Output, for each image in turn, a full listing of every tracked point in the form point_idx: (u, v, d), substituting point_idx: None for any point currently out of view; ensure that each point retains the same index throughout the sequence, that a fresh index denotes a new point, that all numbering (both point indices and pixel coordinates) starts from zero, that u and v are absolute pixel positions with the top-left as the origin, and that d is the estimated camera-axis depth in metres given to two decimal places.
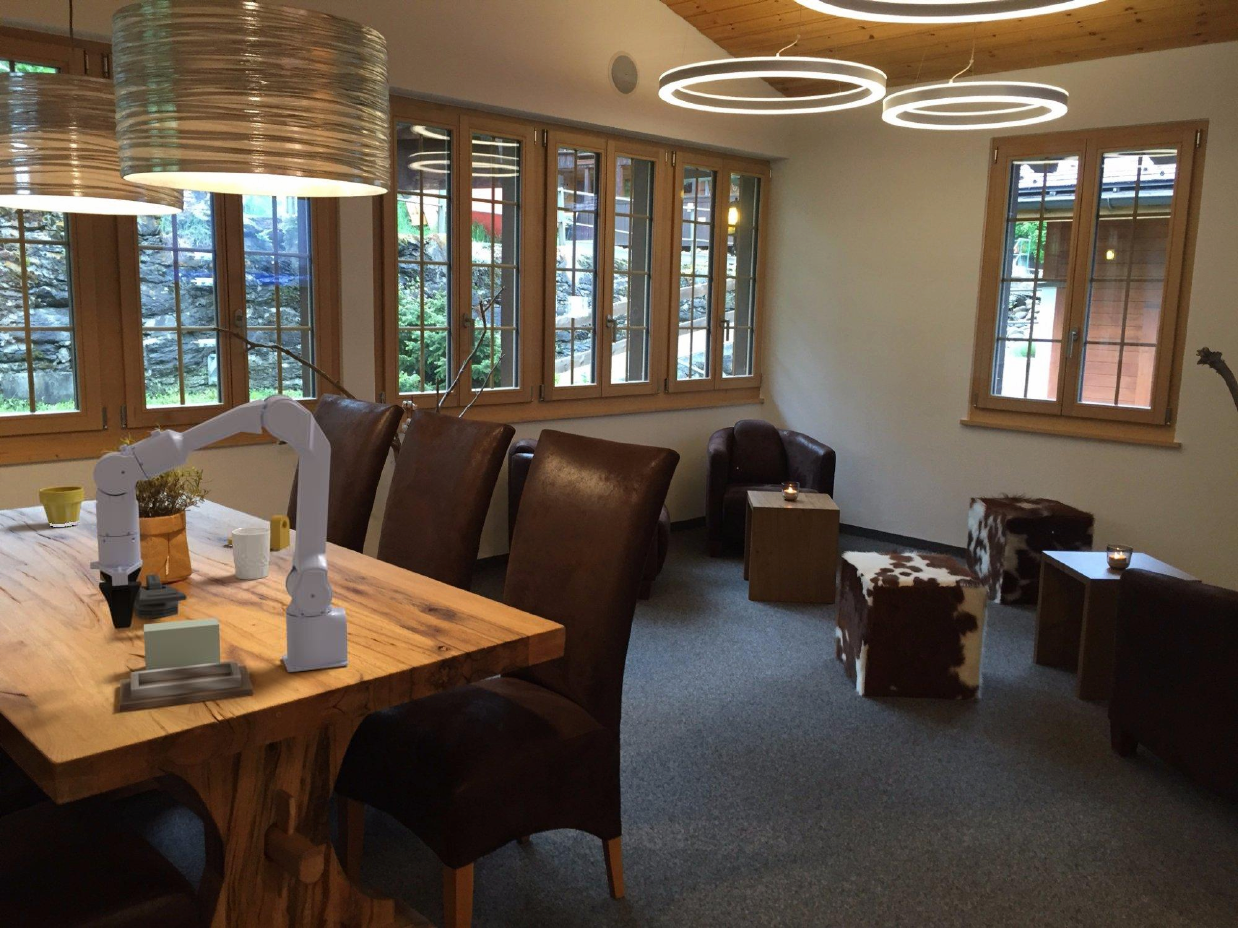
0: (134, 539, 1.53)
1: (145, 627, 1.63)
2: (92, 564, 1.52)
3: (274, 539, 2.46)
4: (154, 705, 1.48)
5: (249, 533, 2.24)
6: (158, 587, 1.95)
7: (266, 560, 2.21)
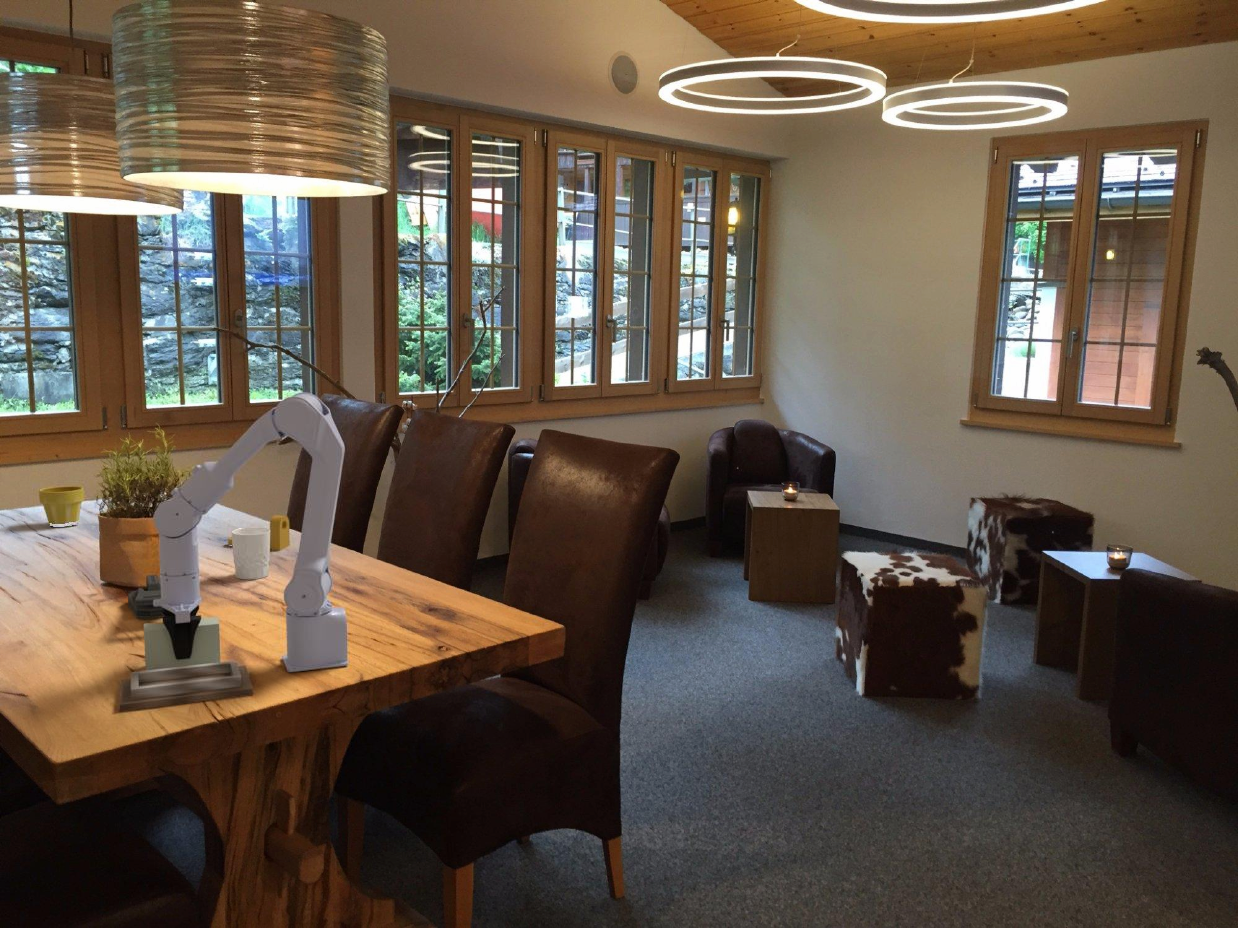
0: (194, 578, 1.63)
1: (145, 626, 1.63)
2: (155, 602, 1.62)
3: (274, 539, 2.46)
4: (154, 705, 1.48)
5: (249, 533, 2.24)
6: (157, 588, 1.94)
7: (266, 560, 2.21)
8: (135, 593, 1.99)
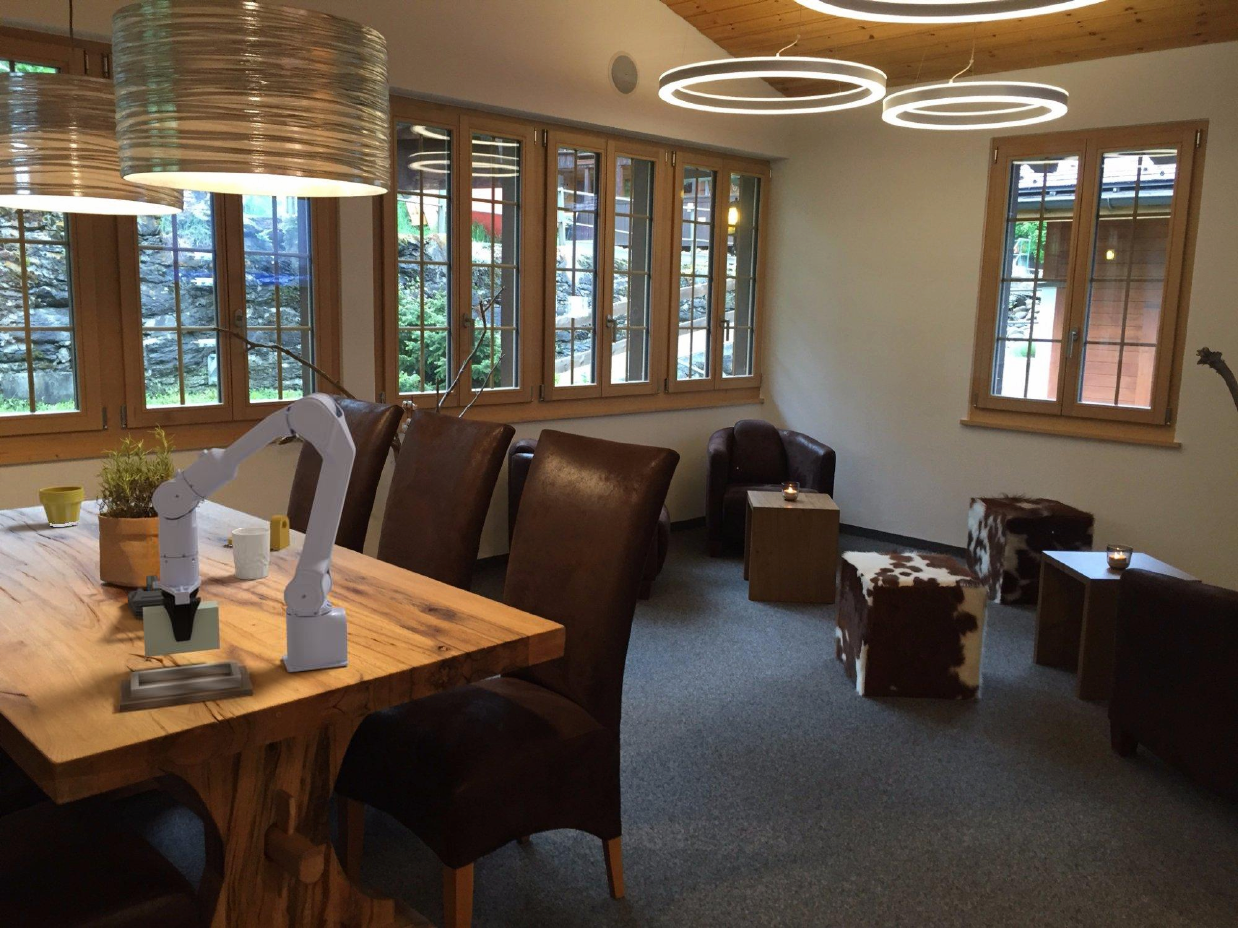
0: (194, 560, 1.62)
1: (144, 609, 1.62)
2: (155, 583, 1.61)
3: (274, 539, 2.46)
4: (154, 705, 1.48)
5: (249, 533, 2.24)
6: (156, 588, 1.94)
7: (266, 560, 2.21)
8: (135, 593, 1.99)
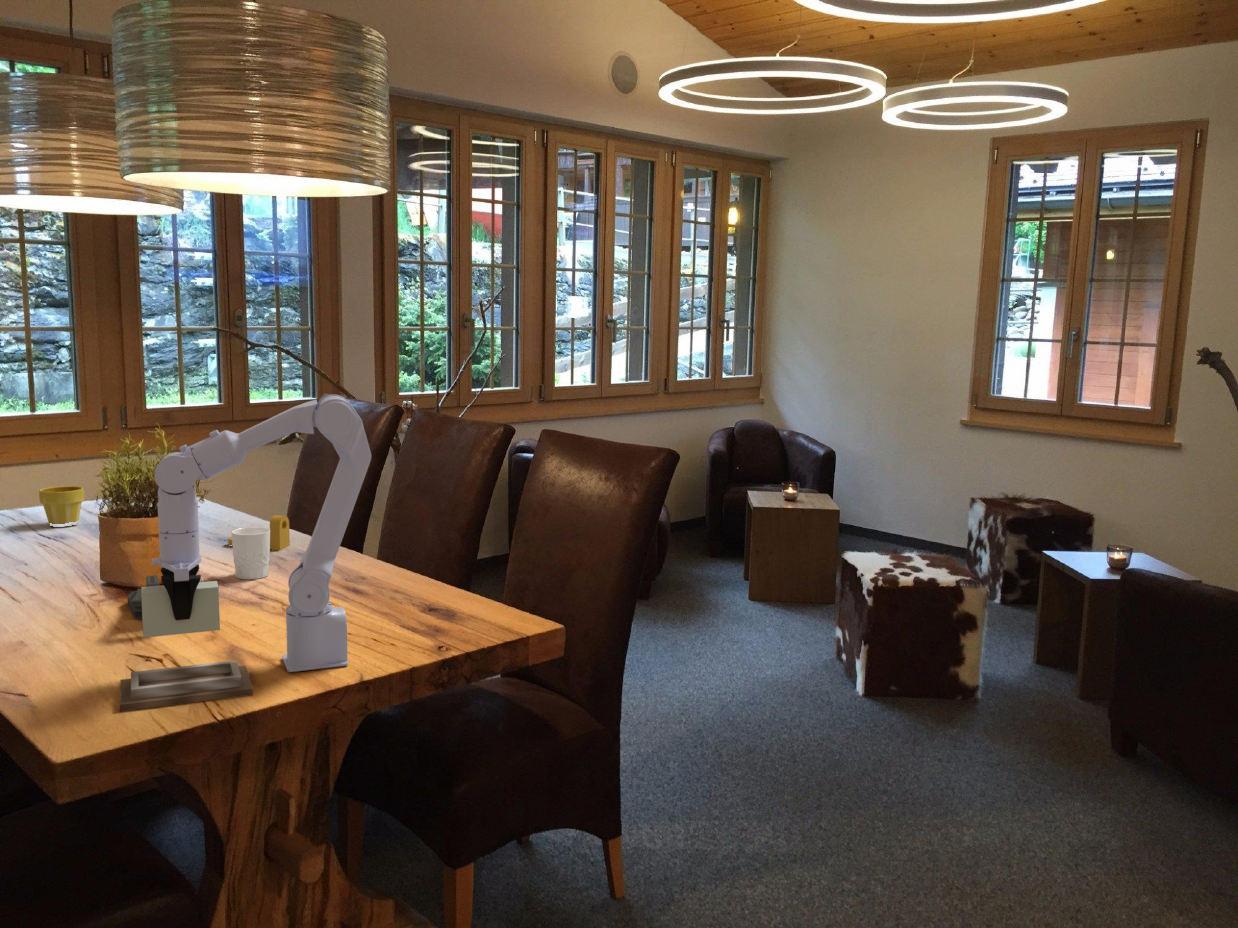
0: (194, 536, 1.58)
1: (142, 589, 1.58)
2: (154, 560, 1.58)
3: (274, 539, 2.46)
4: (154, 705, 1.48)
5: (249, 533, 2.24)
6: None
7: (266, 560, 2.21)
8: (135, 593, 1.98)
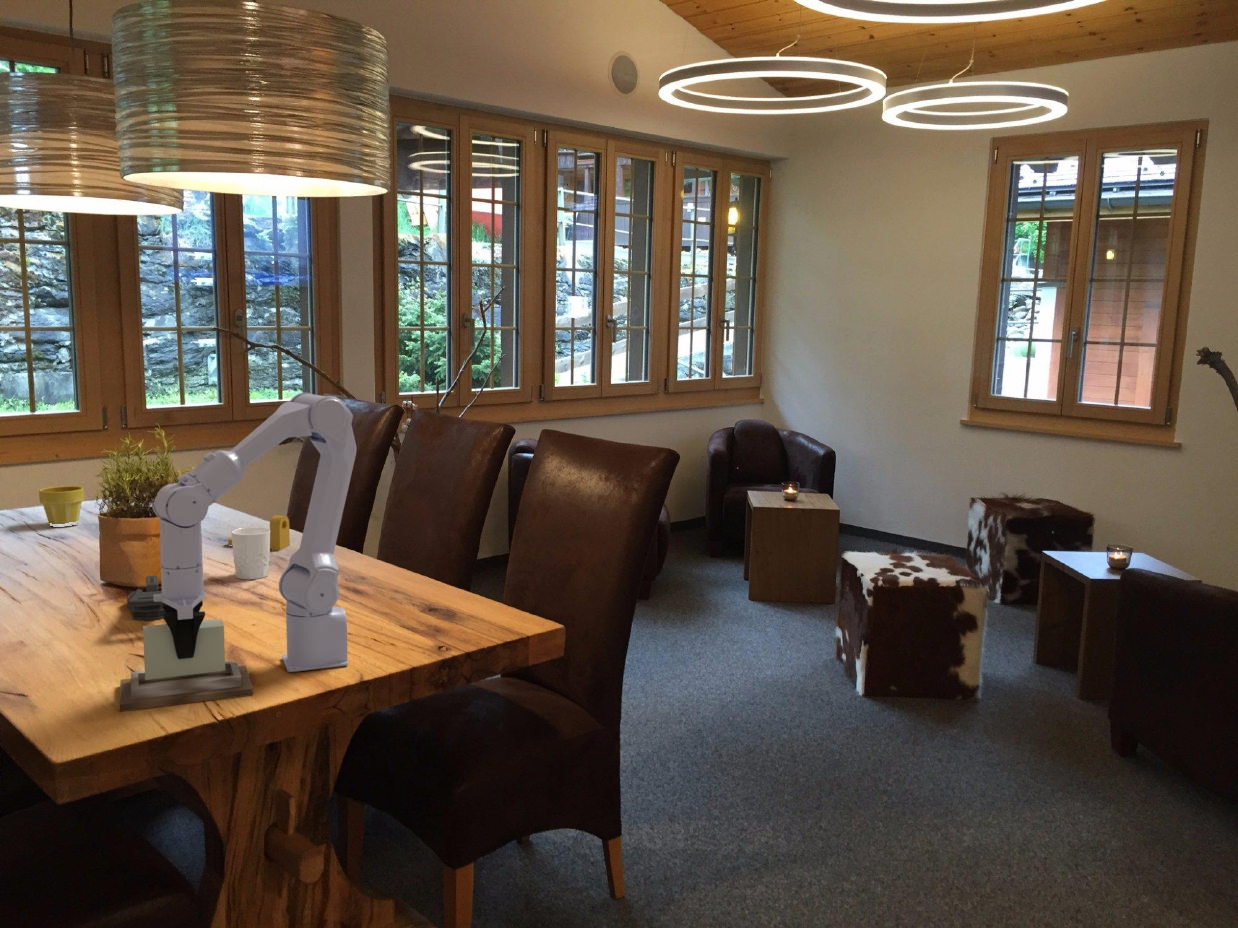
0: (198, 571, 1.51)
1: (144, 629, 1.51)
2: (155, 596, 1.51)
3: (274, 539, 2.46)
4: (154, 705, 1.48)
5: (249, 533, 2.24)
6: (155, 589, 1.94)
7: (266, 560, 2.21)
8: (134, 594, 1.98)
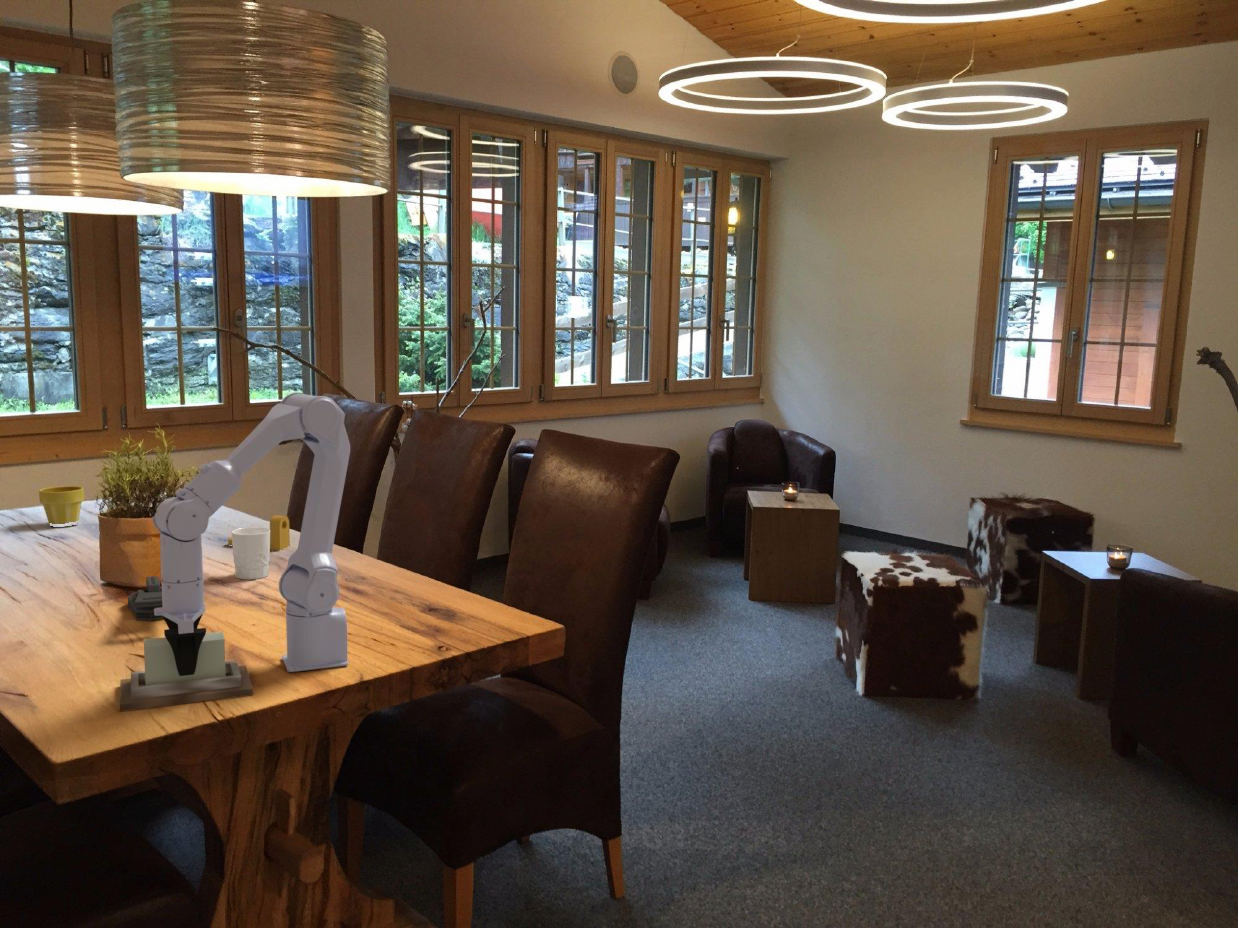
0: (198, 585, 1.52)
1: (145, 642, 1.52)
2: (156, 610, 1.51)
3: (274, 539, 2.46)
4: (154, 705, 1.48)
5: (249, 533, 2.24)
6: (157, 589, 1.93)
7: (266, 560, 2.21)
8: (135, 595, 1.98)
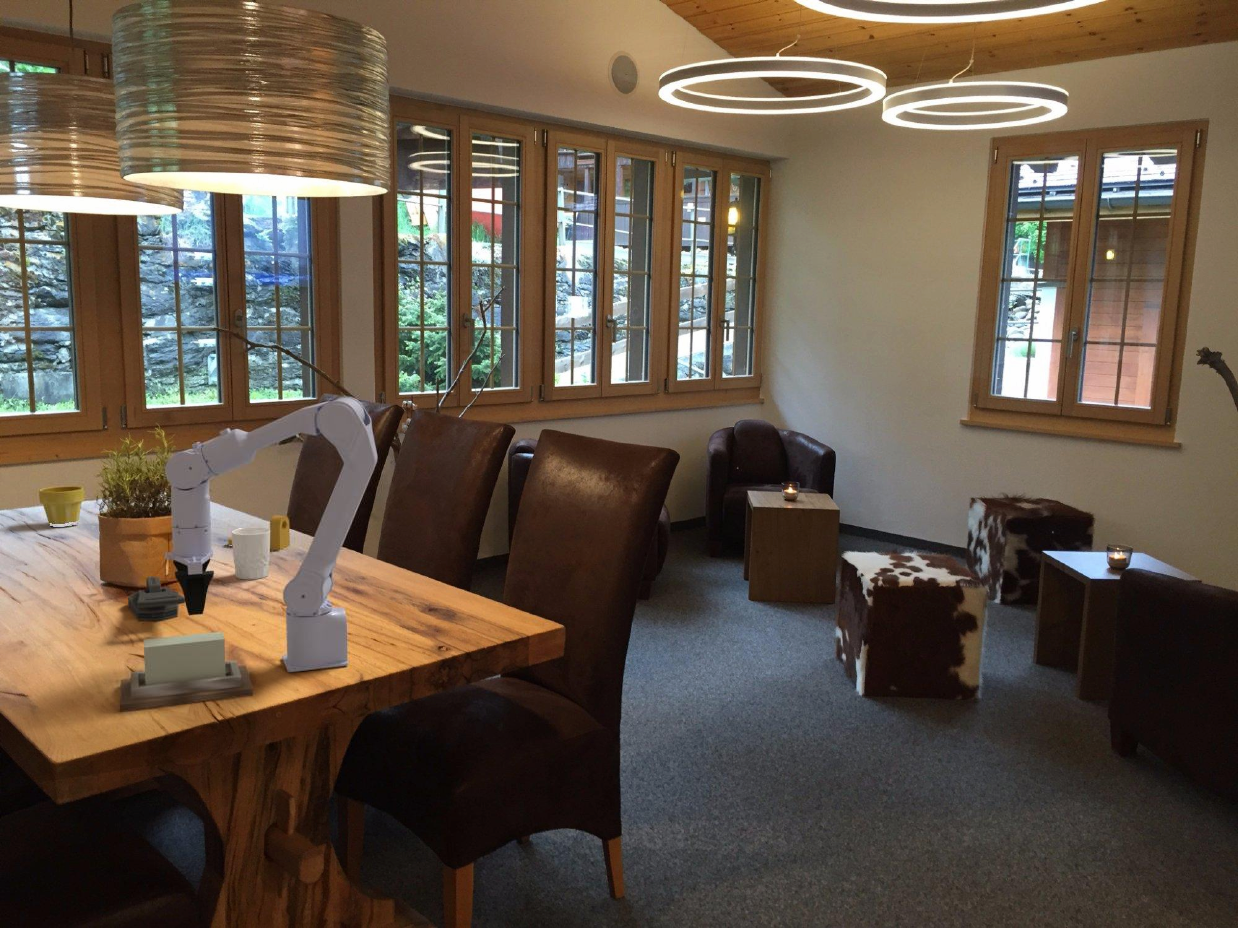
0: (206, 531, 1.62)
1: (145, 642, 1.52)
2: (167, 554, 1.62)
3: (274, 539, 2.46)
4: (154, 705, 1.48)
5: (249, 533, 2.24)
6: (158, 590, 1.93)
7: (266, 560, 2.21)
8: (135, 595, 1.97)
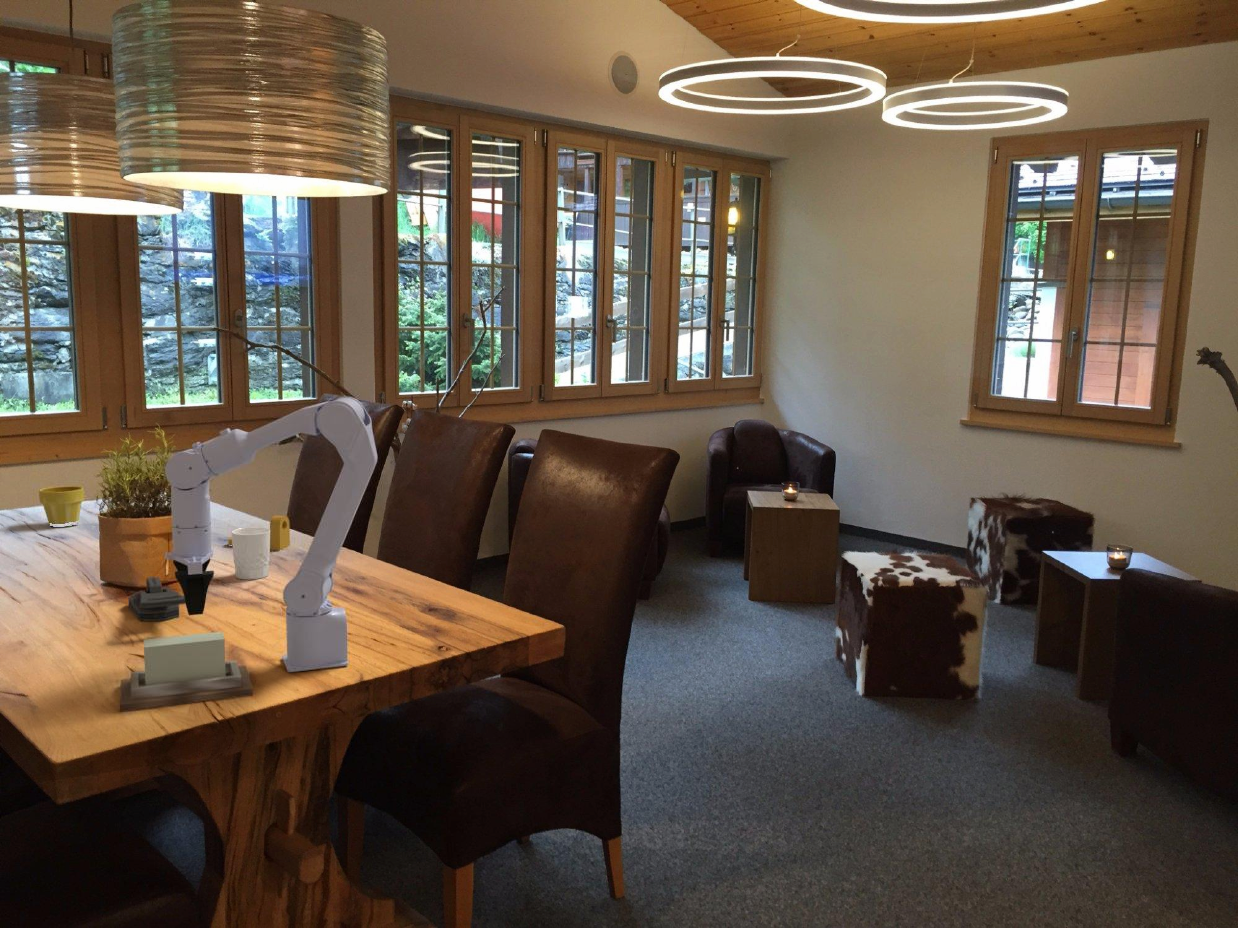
0: (206, 531, 1.62)
1: (145, 642, 1.52)
2: (167, 554, 1.62)
3: (274, 539, 2.46)
4: (154, 705, 1.48)
5: (249, 533, 2.24)
6: (159, 590, 1.93)
7: (266, 560, 2.21)
8: (136, 596, 1.97)
